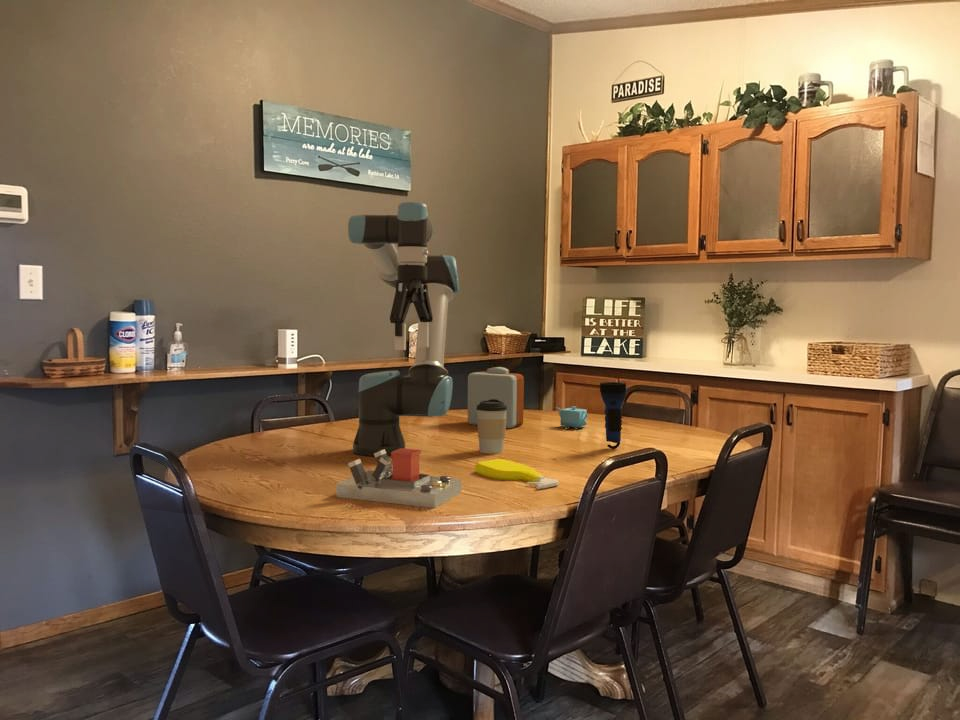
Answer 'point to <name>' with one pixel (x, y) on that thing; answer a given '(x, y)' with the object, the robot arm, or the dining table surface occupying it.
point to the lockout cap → (406, 464)
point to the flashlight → (613, 409)
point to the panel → (401, 489)
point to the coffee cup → (491, 426)
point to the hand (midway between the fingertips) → (412, 348)
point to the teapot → (573, 417)
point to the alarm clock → (497, 393)
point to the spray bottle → (513, 472)
